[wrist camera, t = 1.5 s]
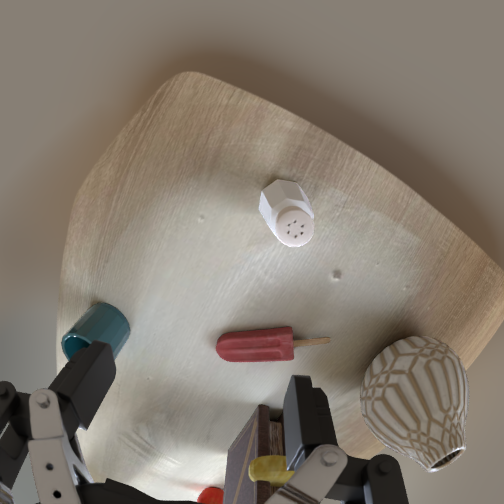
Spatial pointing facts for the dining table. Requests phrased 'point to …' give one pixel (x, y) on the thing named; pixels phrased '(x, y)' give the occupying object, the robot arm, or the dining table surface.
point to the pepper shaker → (287, 212)
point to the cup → (97, 330)
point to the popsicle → (262, 345)
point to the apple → (211, 496)
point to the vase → (418, 401)
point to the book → (256, 461)
